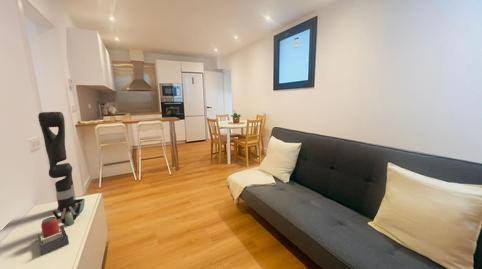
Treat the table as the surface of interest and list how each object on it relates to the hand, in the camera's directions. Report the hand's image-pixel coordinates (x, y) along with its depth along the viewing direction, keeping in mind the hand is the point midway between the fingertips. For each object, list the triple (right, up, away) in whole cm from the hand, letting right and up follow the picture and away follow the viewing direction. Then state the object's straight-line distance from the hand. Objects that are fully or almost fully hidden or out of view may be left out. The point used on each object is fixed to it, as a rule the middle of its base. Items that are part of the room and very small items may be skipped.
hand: (69, 221), depth 125 cm
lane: (+5, -5, -16) cm, 17 cm away
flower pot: (-5, 0, +11) cm, 12 cm away
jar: (0, -2, 0) cm, 2 cm away
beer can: (+2, -4, -13) cm, 14 cm away
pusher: (+5, -4, -16) cm, 17 cm away
